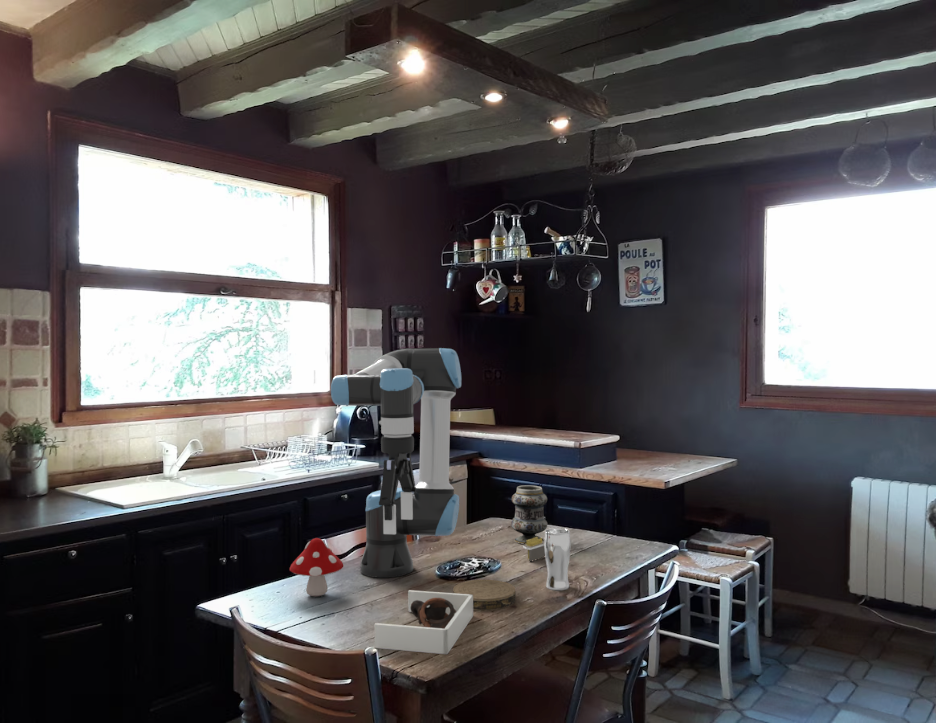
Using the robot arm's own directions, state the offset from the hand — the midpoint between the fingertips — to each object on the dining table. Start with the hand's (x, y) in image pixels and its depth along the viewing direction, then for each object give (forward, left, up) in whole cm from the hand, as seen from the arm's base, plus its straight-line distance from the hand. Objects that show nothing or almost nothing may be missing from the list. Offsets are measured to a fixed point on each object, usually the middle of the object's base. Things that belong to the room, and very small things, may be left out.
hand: (398, 526), depth 174 cm
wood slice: (-21, +16, -23) cm, 35 cm away
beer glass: (-35, +33, -23) cm, 53 cm away
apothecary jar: (-82, +18, -23) cm, 86 cm away
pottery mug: (+2, +9, -23) cm, 25 cm away
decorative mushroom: (-15, -27, -23) cm, 38 cm away
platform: (-60, +23, -23) cm, 69 cm away
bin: (+3, +8, -22) cm, 24 cm away
